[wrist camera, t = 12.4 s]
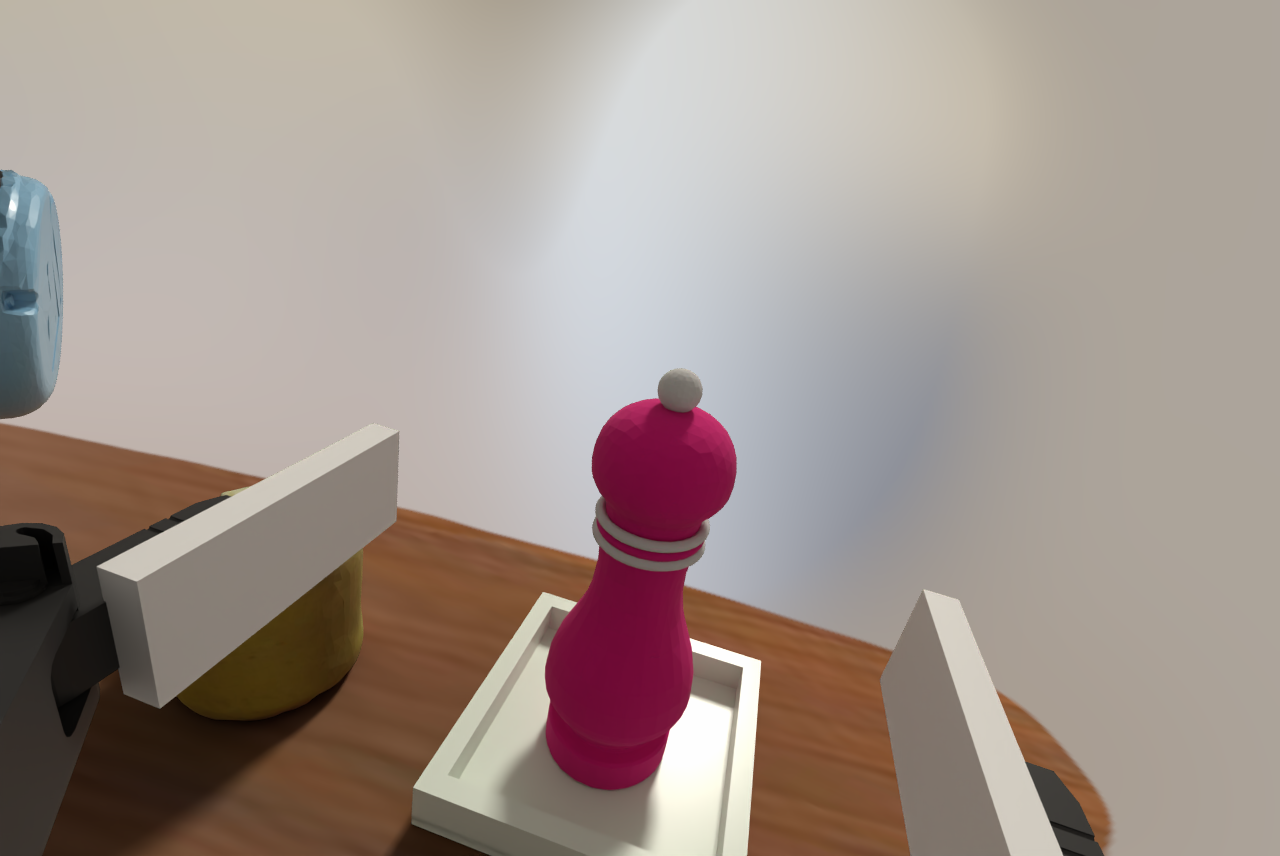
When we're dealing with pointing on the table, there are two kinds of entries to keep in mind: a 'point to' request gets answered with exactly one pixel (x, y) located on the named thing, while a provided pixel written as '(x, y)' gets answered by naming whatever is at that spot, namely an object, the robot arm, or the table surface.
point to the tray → (571, 811)
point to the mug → (287, 653)
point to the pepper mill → (637, 588)
